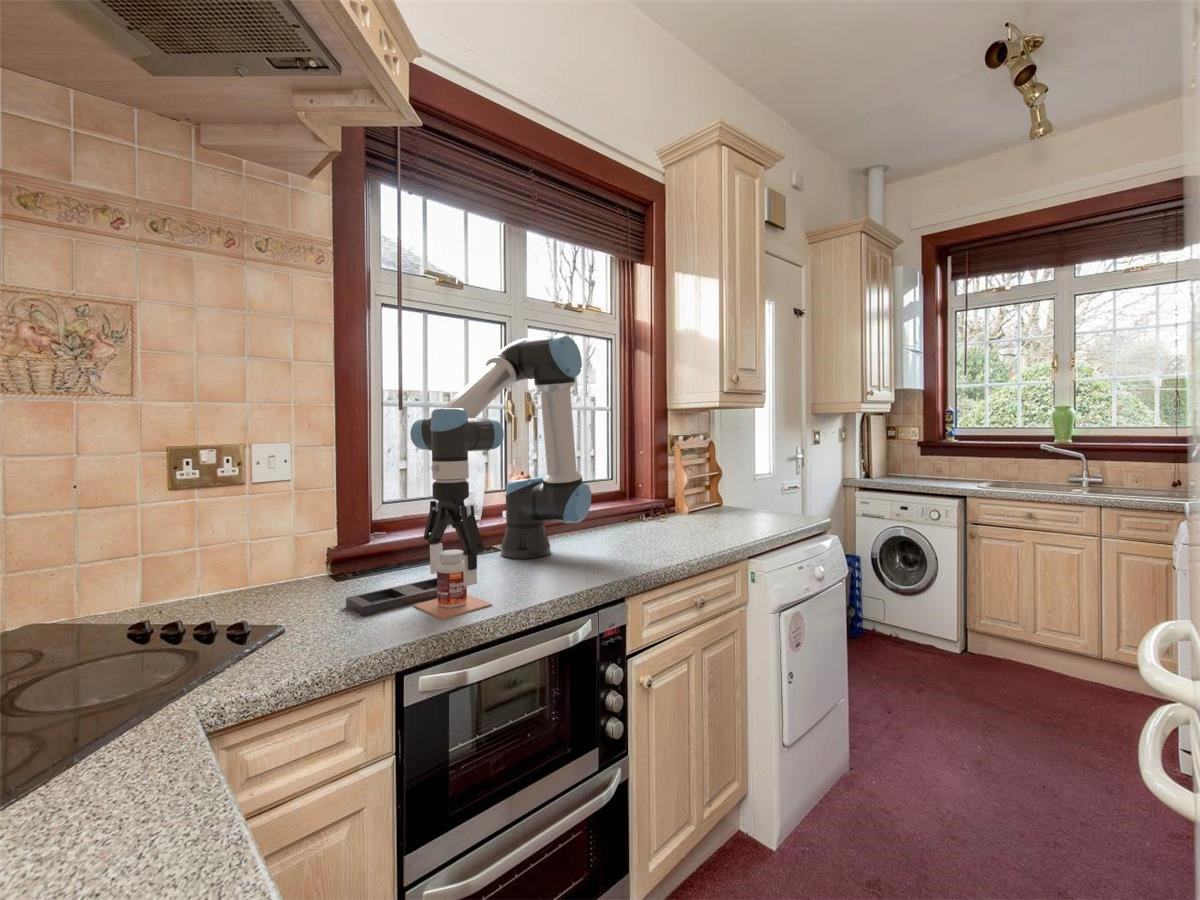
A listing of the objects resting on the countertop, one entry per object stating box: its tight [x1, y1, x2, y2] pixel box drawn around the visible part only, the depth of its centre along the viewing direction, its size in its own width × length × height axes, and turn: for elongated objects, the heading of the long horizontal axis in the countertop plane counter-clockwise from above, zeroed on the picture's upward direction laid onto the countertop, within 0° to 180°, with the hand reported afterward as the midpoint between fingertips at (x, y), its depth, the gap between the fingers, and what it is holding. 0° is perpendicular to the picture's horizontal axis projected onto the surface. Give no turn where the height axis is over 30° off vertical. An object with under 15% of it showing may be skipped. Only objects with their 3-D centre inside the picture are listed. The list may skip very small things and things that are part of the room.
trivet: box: [412, 594, 493, 621], centre depth 117 cm, size 12×12×1 cm
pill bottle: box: [436, 549, 468, 608], centre depth 117 cm, size 6×6×11 cm
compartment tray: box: [345, 577, 437, 617], centre depth 122 cm, size 24×9×2 cm, turn 136°
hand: (452, 578), depth 117 cm, fingers open, 13 cm apart
